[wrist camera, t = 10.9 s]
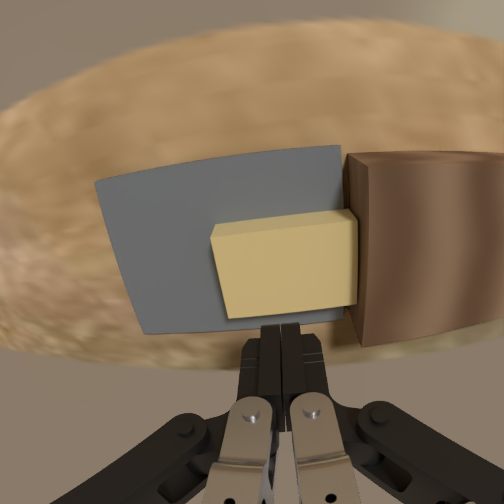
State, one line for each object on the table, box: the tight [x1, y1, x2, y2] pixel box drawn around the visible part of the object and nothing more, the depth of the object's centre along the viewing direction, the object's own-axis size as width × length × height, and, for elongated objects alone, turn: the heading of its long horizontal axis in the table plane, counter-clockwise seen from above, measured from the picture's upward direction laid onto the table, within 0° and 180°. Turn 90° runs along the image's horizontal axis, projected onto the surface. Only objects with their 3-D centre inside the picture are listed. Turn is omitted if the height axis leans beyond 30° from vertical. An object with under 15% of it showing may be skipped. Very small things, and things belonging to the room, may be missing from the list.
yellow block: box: [210, 209, 358, 319], centre depth 19 cm, size 8×6×2 cm
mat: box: [94, 145, 344, 334], centre depth 20 cm, size 15×12×1 cm
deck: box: [347, 151, 504, 347], centre depth 17 cm, size 16×11×4 cm
